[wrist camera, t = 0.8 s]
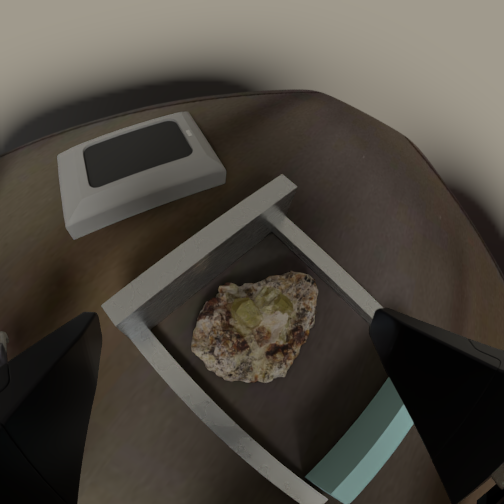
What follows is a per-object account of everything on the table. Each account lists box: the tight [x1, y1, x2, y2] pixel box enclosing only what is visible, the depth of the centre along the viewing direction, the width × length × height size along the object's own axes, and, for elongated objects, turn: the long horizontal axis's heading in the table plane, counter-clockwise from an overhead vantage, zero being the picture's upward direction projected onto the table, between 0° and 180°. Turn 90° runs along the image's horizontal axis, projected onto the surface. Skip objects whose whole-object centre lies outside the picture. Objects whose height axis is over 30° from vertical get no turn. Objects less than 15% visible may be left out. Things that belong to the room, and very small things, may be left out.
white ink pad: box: [57, 112, 226, 240], centre depth 26 cm, size 10×4×15 cm
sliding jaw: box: [305, 377, 414, 504], centre depth 17 cm, size 2×12×5 cm, turn 135°
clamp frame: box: [101, 174, 383, 504], centre depth 19 cm, size 20×16×5 cm
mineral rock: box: [191, 271, 318, 383], centre depth 21 cm, size 11×4×8 cm
